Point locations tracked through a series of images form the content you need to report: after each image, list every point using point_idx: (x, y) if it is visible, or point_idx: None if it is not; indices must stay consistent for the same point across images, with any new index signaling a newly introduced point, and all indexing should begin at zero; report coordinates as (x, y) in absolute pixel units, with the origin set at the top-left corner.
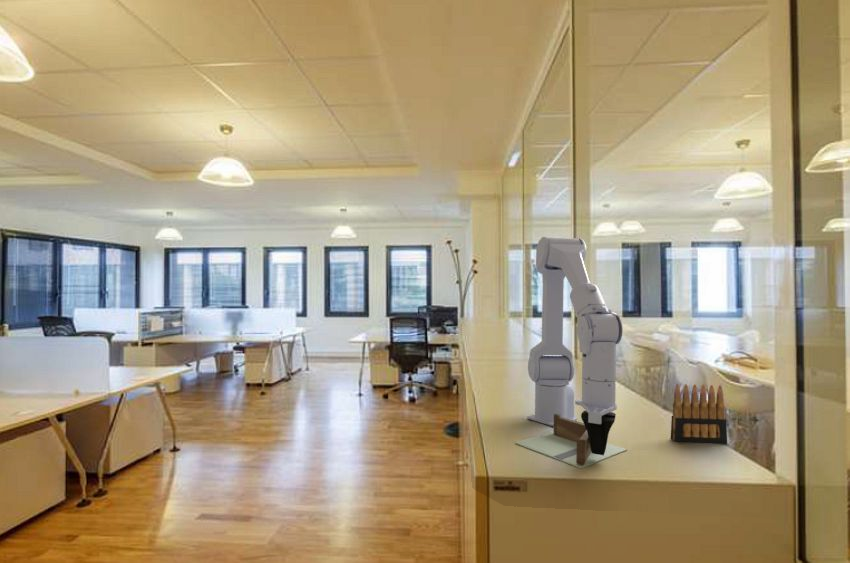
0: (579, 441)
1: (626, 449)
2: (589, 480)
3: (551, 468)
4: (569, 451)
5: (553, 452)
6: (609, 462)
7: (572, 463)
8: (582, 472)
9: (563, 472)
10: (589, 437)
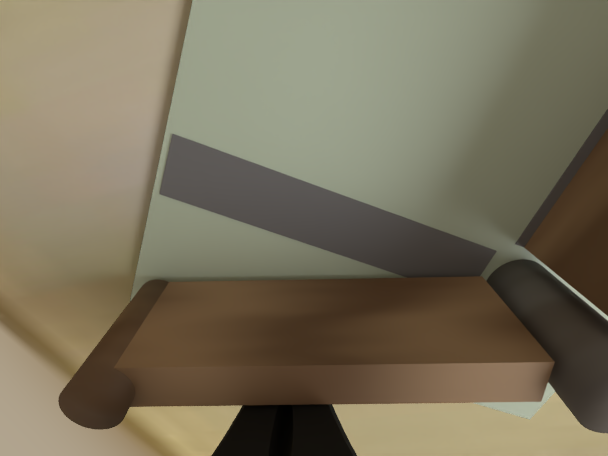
0: (63, 401)
1: (527, 418)
2: (31, 348)
3: (3, 171)
4: (331, 199)
5: (247, 110)
6: None
7: (146, 257)
8: (93, 310)
9: (11, 239)
10: (227, 431)
